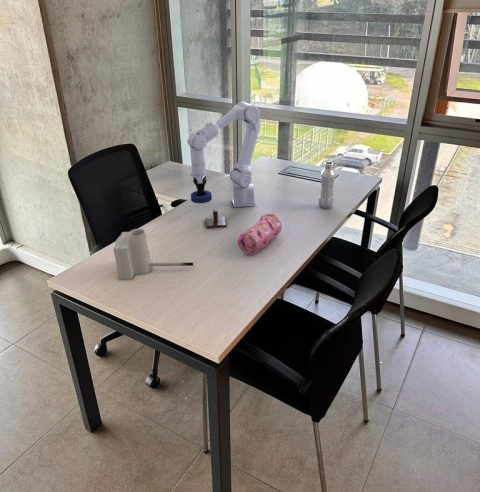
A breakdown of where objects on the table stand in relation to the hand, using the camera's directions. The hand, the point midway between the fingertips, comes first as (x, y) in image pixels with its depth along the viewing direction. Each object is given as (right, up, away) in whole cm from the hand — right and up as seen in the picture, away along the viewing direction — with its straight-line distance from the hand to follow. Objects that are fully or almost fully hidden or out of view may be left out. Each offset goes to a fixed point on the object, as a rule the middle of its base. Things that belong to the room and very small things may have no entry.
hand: (201, 193), depth 197 cm
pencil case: (+25, -24, -21) cm, 40 cm away
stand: (+7, -14, -5) cm, 16 cm away
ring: (0, -3, -2) cm, 4 cm away
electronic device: (-13, -34, -35) cm, 50 cm away
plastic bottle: (+55, -5, +7) cm, 56 cm away
